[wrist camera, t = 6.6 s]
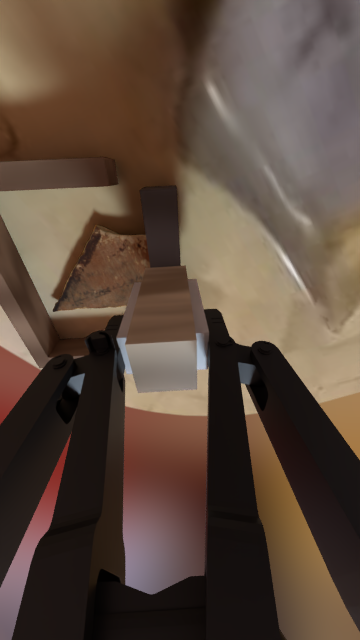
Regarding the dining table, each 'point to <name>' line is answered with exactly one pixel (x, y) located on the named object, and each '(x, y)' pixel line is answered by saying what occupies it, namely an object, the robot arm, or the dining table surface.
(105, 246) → the shard
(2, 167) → the walnut bay
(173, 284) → the scraper
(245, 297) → the dining table surface
